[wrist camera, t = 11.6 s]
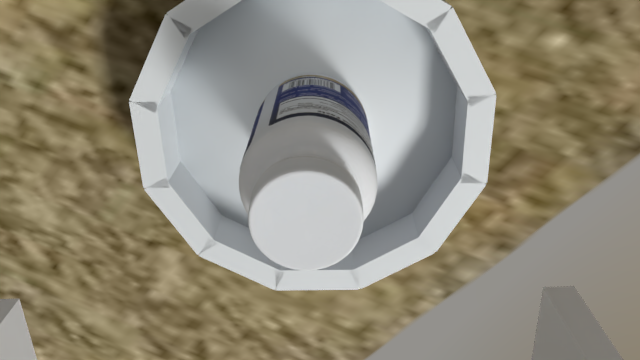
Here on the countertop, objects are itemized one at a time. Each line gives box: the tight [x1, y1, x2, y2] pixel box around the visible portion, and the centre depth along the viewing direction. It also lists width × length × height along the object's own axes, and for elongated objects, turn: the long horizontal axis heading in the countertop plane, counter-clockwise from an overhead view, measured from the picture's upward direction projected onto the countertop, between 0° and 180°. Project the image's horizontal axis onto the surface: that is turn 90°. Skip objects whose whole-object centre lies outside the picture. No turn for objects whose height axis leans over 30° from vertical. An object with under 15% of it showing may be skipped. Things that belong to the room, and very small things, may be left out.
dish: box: [129, 0, 496, 290], centre depth 28 cm, size 16×16×4 cm
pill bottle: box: [239, 73, 378, 270], centre depth 25 cm, size 5×5×10 cm
